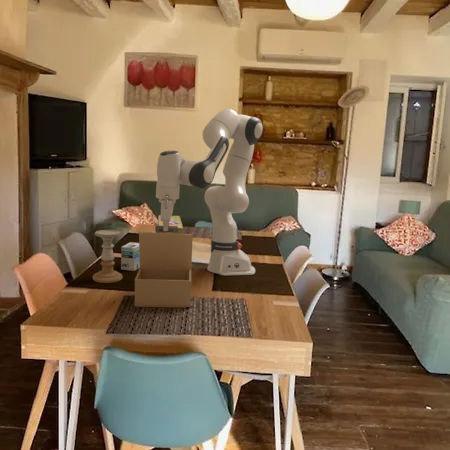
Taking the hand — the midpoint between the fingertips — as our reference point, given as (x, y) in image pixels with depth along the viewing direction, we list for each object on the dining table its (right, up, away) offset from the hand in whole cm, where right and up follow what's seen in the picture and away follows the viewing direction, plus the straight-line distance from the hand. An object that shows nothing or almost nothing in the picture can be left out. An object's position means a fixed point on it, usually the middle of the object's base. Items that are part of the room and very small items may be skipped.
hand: (166, 229), depth 178 cm
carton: (0, -26, -4) cm, 27 cm away
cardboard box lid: (0, -8, -2) cm, 8 cm away
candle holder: (-27, -21, +18) cm, 39 cm away
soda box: (-10, -9, +90) cm, 91 cm away
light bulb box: (-20, -18, +36) cm, 45 cm away
